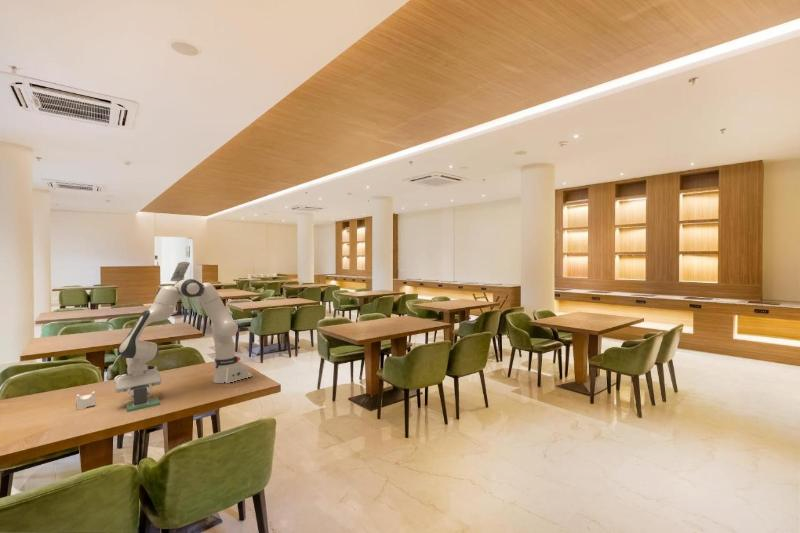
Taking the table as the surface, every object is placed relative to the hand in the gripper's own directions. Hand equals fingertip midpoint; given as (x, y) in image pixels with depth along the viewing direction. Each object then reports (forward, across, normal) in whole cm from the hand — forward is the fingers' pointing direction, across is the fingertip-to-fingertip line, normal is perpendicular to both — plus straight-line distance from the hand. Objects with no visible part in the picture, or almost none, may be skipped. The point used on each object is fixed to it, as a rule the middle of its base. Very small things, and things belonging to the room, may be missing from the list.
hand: (140, 395), depth 198 cm
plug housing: (+3, 0, +4) cm, 4 cm away
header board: (+4, +1, +4) cm, 6 cm away
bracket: (-12, -22, +21) cm, 32 cm away
